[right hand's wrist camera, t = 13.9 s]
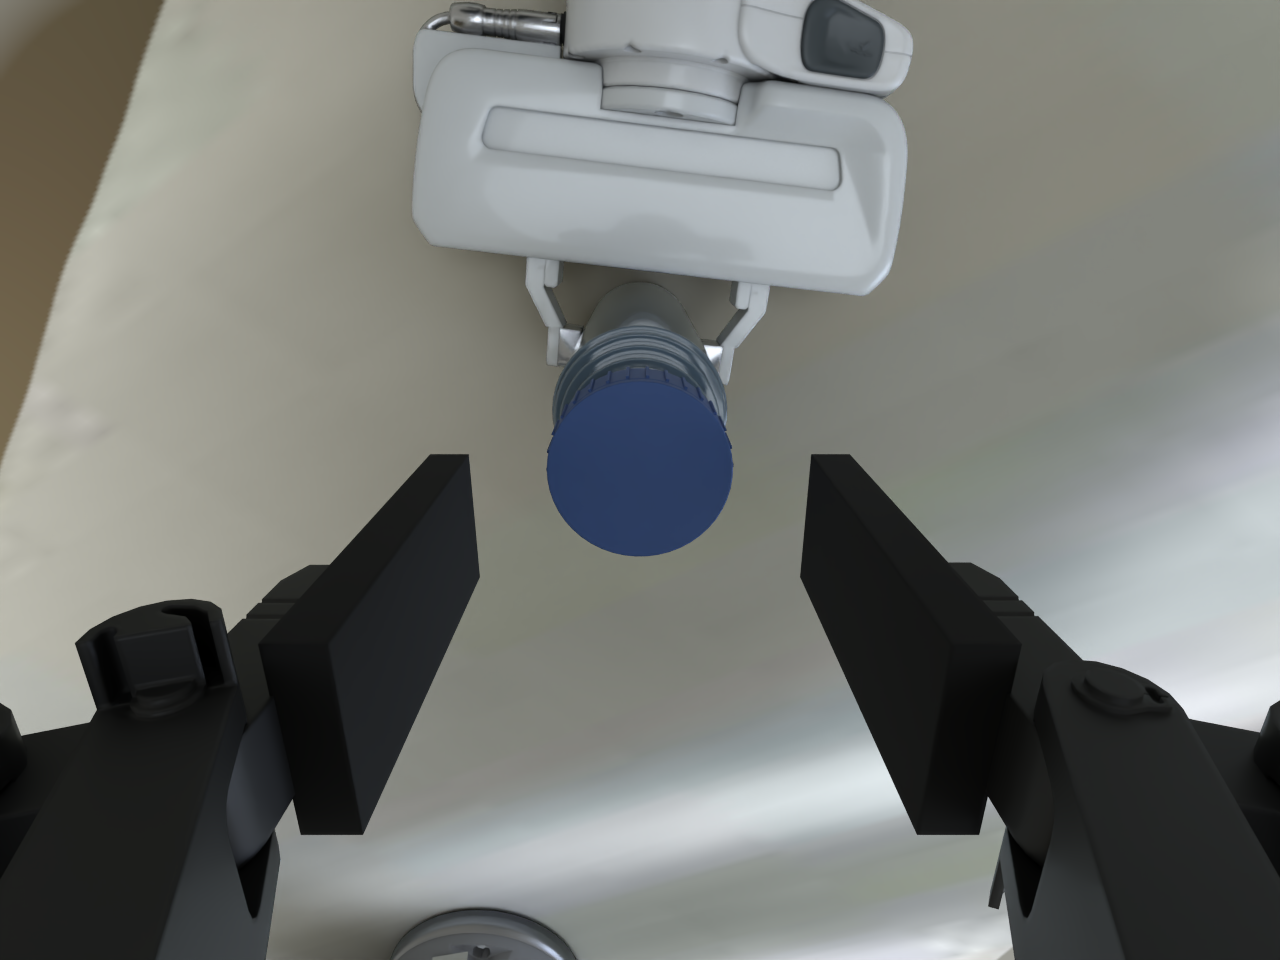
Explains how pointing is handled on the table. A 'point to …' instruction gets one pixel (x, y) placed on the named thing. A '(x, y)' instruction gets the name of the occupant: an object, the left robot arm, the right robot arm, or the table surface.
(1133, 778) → the right robot arm
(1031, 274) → the table surface
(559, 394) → the bottle
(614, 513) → the cap
